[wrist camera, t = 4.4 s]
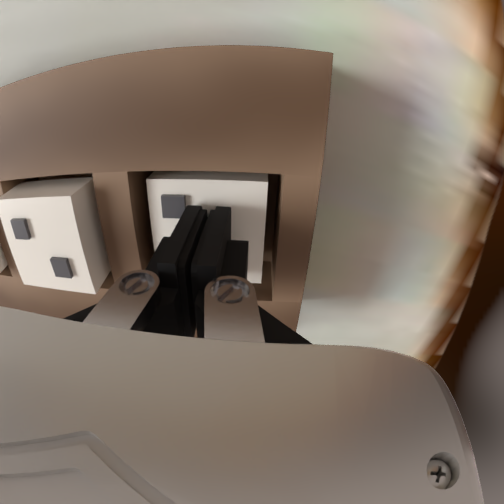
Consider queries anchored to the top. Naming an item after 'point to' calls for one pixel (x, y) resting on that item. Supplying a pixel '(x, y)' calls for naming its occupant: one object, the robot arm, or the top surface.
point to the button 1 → (2, 260)
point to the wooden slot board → (172, 151)
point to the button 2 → (56, 234)
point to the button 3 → (212, 205)
